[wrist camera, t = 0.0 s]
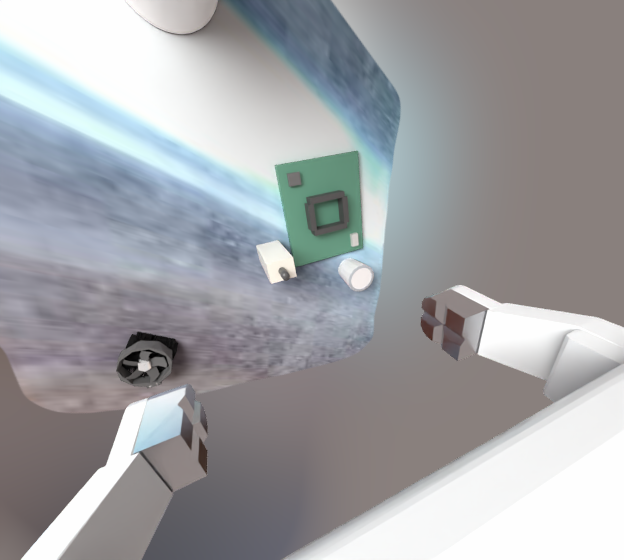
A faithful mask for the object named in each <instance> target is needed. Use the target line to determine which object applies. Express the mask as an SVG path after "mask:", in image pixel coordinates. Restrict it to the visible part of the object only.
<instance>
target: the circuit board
mask: <svg viewBox="0 0 624 560" xmlns="http://www.w3.org/2000/svg"><path fill="white" fill-rule="evenodd" d="M275 170H276V175H277V180H278V185H279V190H280V195H281V201H282V206H283V211H284V216H285V221H286V226H287V231H288V237H289V242H290V247H291V252H292V257H293V260H294V265H295V267H298V266H301V265H305V264H308V263H312V262H316V261H319V260H323V259H326V258H330V257H333V256H337V255H340V254H344V253H347V252H351V251H354V250H358V249H361V248H363V239H362V220H361V200H360V181H359V162H358V151H353V152H348V153H342V154H336V155H331V156H325V157H319V158H314V159H308V160H302V161H297V162H291V163H285V164H280V165H275Z"/></svg>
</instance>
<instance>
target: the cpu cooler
mask: <svg viewBox="0 0 624 560" xmlns="http://www.w3.org/2000/svg"><path fill="white" fill-rule="evenodd" d="M138 333H141V332H138ZM138 333H137V334H138ZM142 334H145V333H142ZM139 335H141V334H138V335H133V334H132V335H131V337H130V339H129V341H128V344H127V346H126V349H124V350H123V351H121V354H120V356H119V358H118V363H117V370H116V371H117V373H118V376H119V378H120V380H121V381H123V382H126V383H128V384H130V385H133V386H141V387H147V388H151V387H154V386H157V385H160V384H161V383H162V381H163V380H164V379H165V378H166V377H167V376H168V375H170V374H171V371H172V360H173V358H174V356H175V353H176V351H177V345H178V343H175V339H174V340H173V338H172V340H170V339H171V338H169V339H168V337H167V338H165V337H163V338H161V337H162V336H161V337H158V336H157V337H158V338H156V337H154V338H152V336H151V335H152V334H150V335H149V336H151V337H149V336H148V334H147V336H145V335H146V334H145V335H142V336H145V337H146V339H143V338H145V337H143V338H140V337H142V336H139ZM137 336H139V337H137ZM155 336H156V335H155ZM147 337H148V338H147ZM149 338H152V339H154V340H152V339H149ZM155 338H156V339H155ZM164 338H165V339H164ZM140 339H143V340H140ZM147 339H148V340H147ZM161 339H163V340H161ZM166 339H168V340H166ZM144 340H145V341H144ZM146 340H147V341H146ZM150 340H152V341H150ZM155 340H156V341H155ZM132 368H134V369H133V370H135V369H137V370H135V371H133V373H132V372H130V371H132V370H130V369H132ZM128 370H129V371H128ZM144 372H145V373H144ZM142 373H143V374H145V375H144V376H142V375H143V374H142Z"/></svg>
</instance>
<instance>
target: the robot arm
mask: <svg viewBox="0 0 624 560" xmlns="http://www.w3.org/2000/svg"><path fill="white" fill-rule="evenodd" d="M125 1H126V2H127V3H128V4H129V5H130V7H131V8H132V9H133V10H134V11H135V12H136V13H137V14H139V15H140V16H141V17H142V18H143V19H145V20H146V21H147V22H149V23H150V24H152V25H154V26H155V27H157V28H159V29H162V30H164V31H167V32H171V33H175V34H188V33H192V32H195V31H197V30H199V29H201V28H202V27H204V26H205V25H206V24H207V23H208V22H209V21H210V19H211V18H212V16H213V14H214V12H215V10H216V7H217V3H218V0H125ZM422 309H423V310H424V311H425V312H424V313H423V315H422V317H421V327H422V330H423V332H424V333H425V335H426V336H427V337H428V338H429V339H430V340H432V341H434V342H437V343H440V344H441V347H442V349H443V350H444V351H445V352H447V353H448V354H449V355H450V356H451V357H453V358H454V359H455V360H457V361H460V360H462V359H464V358H467V357H469V356H472V355H474V354H476V353H478V355H481V356H483V357H486V358H488V359H491V360H494V361H496V362H499V363H502V364H504V365H507V366H510V367H512V368H515V369H518V370H520V371H523V372H525V373H528V374H531V375H533V376H536V377H539V378H542V379H544V380H547V382H546V384H545V387H544V389H543V392H544V395H545V396H546V397H548V398H549V399H551V400H552V401H553V402H555V403H553V404H551V405H550V406H548V407H546V408H544V409H543V410H541V411H539V412H538V413H536V414H534V415H532V416H530V417H529V418H527V419H525V420H523V421H522V422H520V423H518V424H517V425H515V426H513V427H511V428H510V429H508V430H506V431H504V432H503V433H501V434H499V435H497V436H496V437H494V438H492V439H490V440H489V441H487V442H485V443H484V444H482V445H480V446H478V447H477V448H475V449H473V450H471V451H469V452H468V453H466V454H464V455H463V456H461V457H459V458H457V459H456V460H454V461H452V462H450V463H449V464H447V465H445V466H443V467H442V468H440V469H438V470H436V471H435V472H433V473H431V474H429V475H428V476H426V477H424V478H422V479H421V480H419V481H417V482H416V483H414V484H412V485H410V486H409V487H407V488H405V489H403V490H402V491H400V492H398V493H396V494H395V495H393V496H391V497H389V498H388V499H386V500H384V501H382V502H381V503H379V504H377V505H375V506H374V507H372V508H370V509H368V510H367V511H365V512H363V513H362V514H360V515H358V516H356V517H355V518H353V519H351V520H349V521H348V522H346V523H344V524H343V525H341V526H339V527H337V528H335V529H334V530H332V531H330V532H328V533H327V534H325V535H323V536H322V537H320V538H318V539H316V540H315V541H313V542H311V543H309V544H308V545H306V546H304V547H302V548H301V549H299V550H297V551H295V552H294V553H292V554H290V555H288V556H287V557H285V558H283V559H282V560H624V328H623V327H621V326H618V325H616V324H613V323H611V322H608V321H606V320H603V319H601V318H598V317H590V316H585V315H579V314H572V313H566V312H559V311H553V310H547V309H541V308H535V307H528V306H522V305H515V304H509V303H505V304H501V303H499V302H496V301H495V300H492V299H490V298H488V297H486V296H484V295H482V294H480V293H478V292H476V291H474V290H471V289H469V288H468V287H465V286H463V285H457V286H454V287H452V288H449V289H447V290H445V291H442V292H439V293H436V294H434V295H431V296H429V297H426V298H424V300H423V301H422ZM207 435H208V426H207V419H206V414H205V411H204V408H203V406H202V404H201V403H200V402H198V401H195V391H194V390H193V388H192V386H191V385H190V384H186V385H183V386H180V387H177V388H174V389H171V390H168V391H165V392H163V393H160V394H157V395H154V396H151V397H149V398H146V399H143V400H140V401H137V402H134V403H131V404H130V405H129V406H128V407H127V408H126V410H125V413H124V416H123V418H122V421H121V424H120V427H119V430H118V433H117V436H116V439H115V442H114V444H113V447H112V450H111V453H110V456H109V458H108V461H107V464H106V466H105V467H102V468H100V469H98V471H97V472H96V473H95V474H94V475H93V476H92V477H91V479H90V480H89V481H88V482H87V483H86V484H85V486H84V487H83V488H82V489H81V490H80V491H79V493H78V494H77V495H76V496H75V497H74V498H73V500H72V501H71V502H70V503H69V504H68V505H67V506H66V508H65V509H64V510H63V512H61V513H60V515H59V516H58V517H57V518H56V519H55V520H54V522H53V523H52V524H51V525H50V526H49V527H48V529H47V530H46V531H45V532H44V533H43V534H42V536H41V537H40V538H39V539H38V540H37V542H36V543H35V544H34V545H33V546H32V547H31V548H30V549H29V551H28V552H27V553H26V554H25V555H24V556H23V558H22V559H21V560H141V559H142V557H143V555H144V553H145V551H146V549H147V547H148V545H149V543H150V541H151V539H152V537H153V535H154V533H155V531H156V529H157V527H158V524H159V522H160V520H161V518H162V516H163V514H164V512H165V510H166V508H167V506H168V504H169V502H170V500H171V498H172V496H173V493H172V492H174V491H176V490H178V489H180V488H182V487H184V486H187V485H189V484H191V483H193V482H195V481H197V480H199V479H201V478H203V477H205V476H207V449H206V447H205V445H204V444H203V442H204V440H205V439H206V437H207Z"/></svg>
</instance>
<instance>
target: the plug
mask: <svg viewBox="0 0 624 560" xmlns="http://www.w3.org/2000/svg"><path fill="white" fill-rule="evenodd" d="M256 247H257V251H258V255H259V259H260V262H261V264H262V266H263V268H264V270H265V272H266V274H267V276H268V278H269V280H270V282H271V284H273V283H276V282H280V281H283V280H285V281H287V280H289V279H290V278H293V277H297V275H296V270H295V265H294V260H293V257H292V256H291V254H290V253H289V252H288V251H287V250H286V249H285V248H284V246H283V245H282V244H281V243H280V242H279V241H278V240H276V241H273V242H269V243H265V244H261V245H257V246H256Z"/></svg>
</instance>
